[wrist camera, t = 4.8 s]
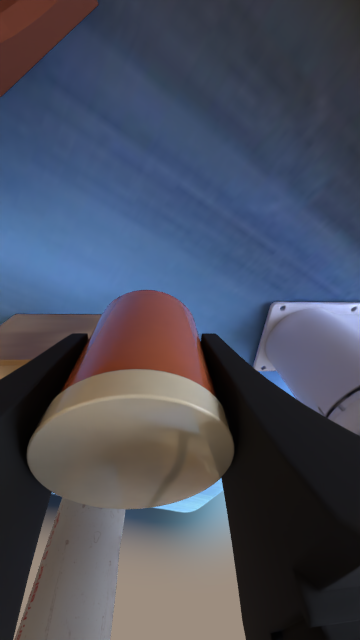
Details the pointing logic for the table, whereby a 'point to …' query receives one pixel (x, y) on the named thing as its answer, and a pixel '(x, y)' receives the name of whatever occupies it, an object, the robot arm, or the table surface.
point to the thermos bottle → (76, 576)
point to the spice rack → (37, 335)
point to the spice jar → (135, 412)
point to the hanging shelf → (34, 32)
